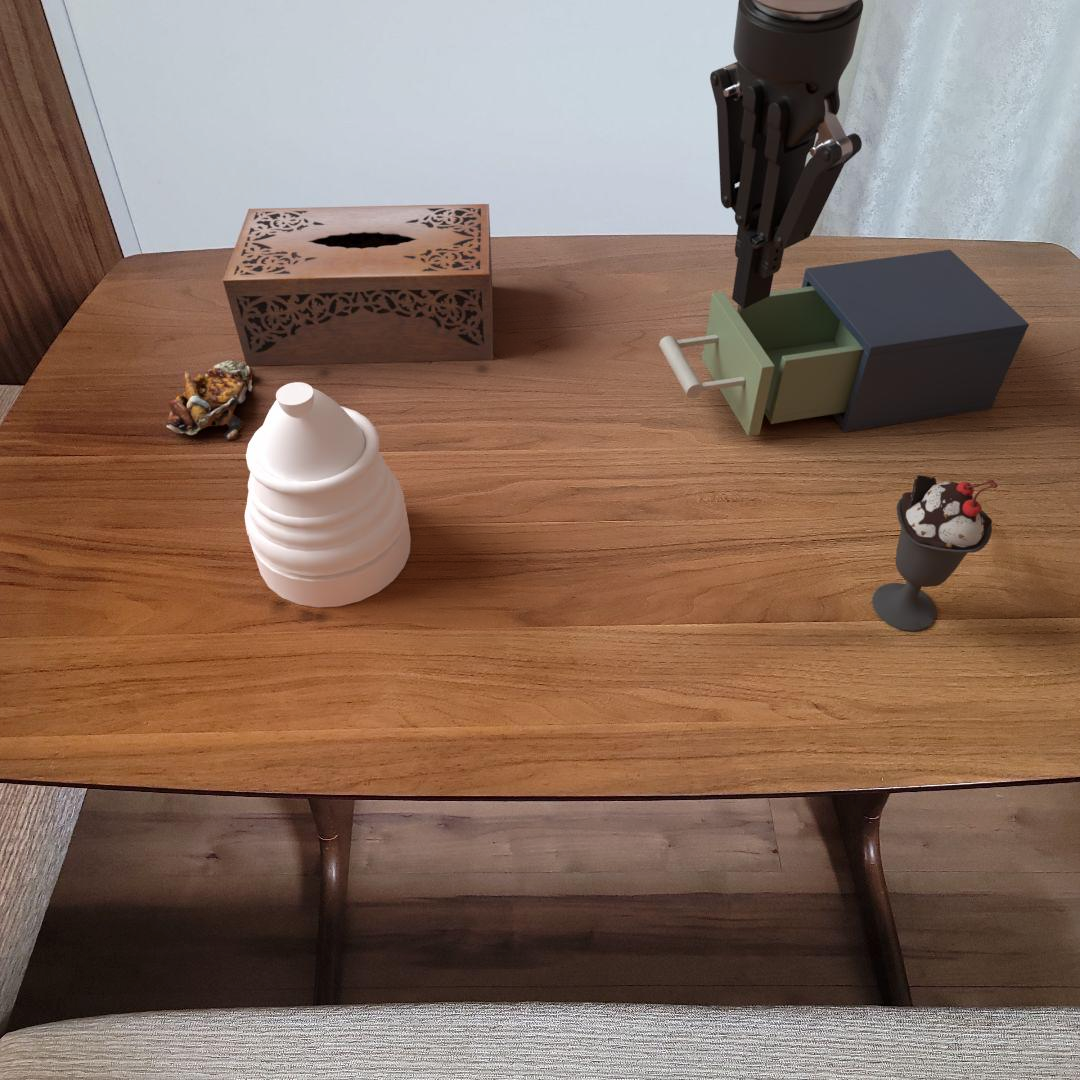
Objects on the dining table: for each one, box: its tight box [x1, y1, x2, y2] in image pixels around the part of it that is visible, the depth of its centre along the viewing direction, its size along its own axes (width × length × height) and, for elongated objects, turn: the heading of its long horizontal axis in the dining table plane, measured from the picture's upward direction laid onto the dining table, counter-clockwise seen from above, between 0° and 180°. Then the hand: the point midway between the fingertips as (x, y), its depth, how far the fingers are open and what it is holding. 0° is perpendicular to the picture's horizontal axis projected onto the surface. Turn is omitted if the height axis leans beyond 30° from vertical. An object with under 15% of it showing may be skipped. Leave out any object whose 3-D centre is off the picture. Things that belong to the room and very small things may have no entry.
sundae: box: [872, 474, 998, 632], centre depth 69 cm, size 7×7×15 cm
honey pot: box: [244, 381, 412, 608], centre depth 72 cm, size 13×13×18 cm
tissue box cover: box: [222, 203, 494, 367], centre depth 98 cm, size 26×14×10 cm, turn 92°
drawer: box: [659, 286, 864, 437], centre depth 89 cm, size 20×13×8 cm, turn 103°
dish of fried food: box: [166, 360, 254, 441], centre depth 91 cm, size 7×12×4 cm, turn 2°
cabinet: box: [801, 249, 1030, 433], centre depth 92 cm, size 16×14×10 cm
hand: (750, 297), depth 76 cm, fingers closed
